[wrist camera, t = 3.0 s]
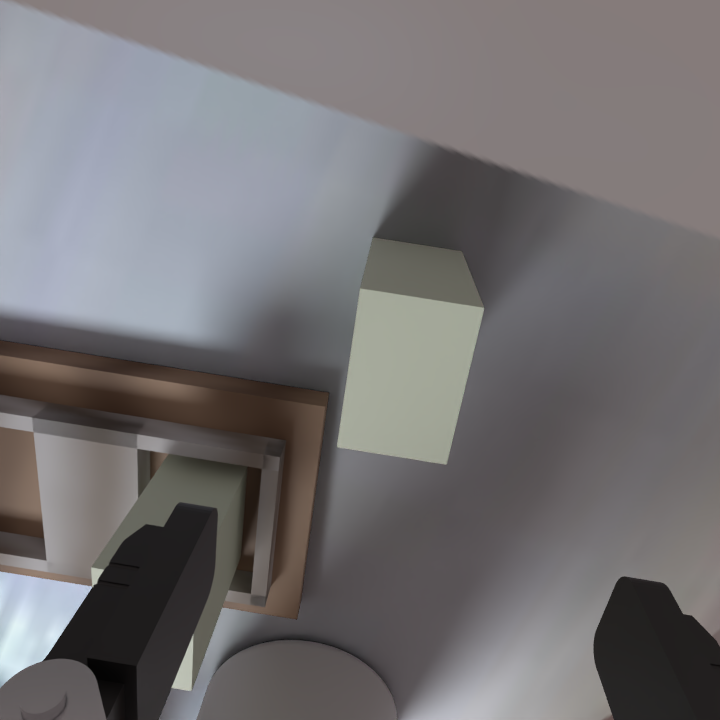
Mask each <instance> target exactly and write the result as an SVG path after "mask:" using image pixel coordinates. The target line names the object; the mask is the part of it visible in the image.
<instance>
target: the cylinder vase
mask: <svg viewBox="0 0 720 720" xmlns="http://www.w3.org/2000/svg"><path fill="white" fill-rule="evenodd" d="M197 720H397V711H396V706H395V703H394V700H393V697H392V695H391V693H390V691H389V689H388V687H387V686H386V684H385V683H384V682H383V680H382V679H381V678H380V677H379V676H378V674H377V673H376V672H375V671H374V670H372V669H371V668H370V667H369V666H368V665H366V664H365V663H364V662H362V661H361V660H359V659H358V658H356V657H354V656H353V655H351V654H349V653H347V652H345V651H342V650H340V649H337V648H335V647H332V646H329V645H325V644H321V643H317V642H311V641H303V640H278V641H271V642H265V643H261V644H258V645H254V646H252V647H249V648H247V649H244V650H242V651H240V652H238V653H237V654H235V655H234V656H232V657H231V658H229V659H228V660H227V661H226V662H224V663H223V664H222V665H221V666H220V668H219V669H218V670H217V671H216V673H215V674H214V675H213V677H212V679H211V681H210V683H209V685H208V687H207V690H206V693H205V696H204V699H203V702H202V705H201V708H200V711H199V714H198V717H197Z"/></svg>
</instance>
